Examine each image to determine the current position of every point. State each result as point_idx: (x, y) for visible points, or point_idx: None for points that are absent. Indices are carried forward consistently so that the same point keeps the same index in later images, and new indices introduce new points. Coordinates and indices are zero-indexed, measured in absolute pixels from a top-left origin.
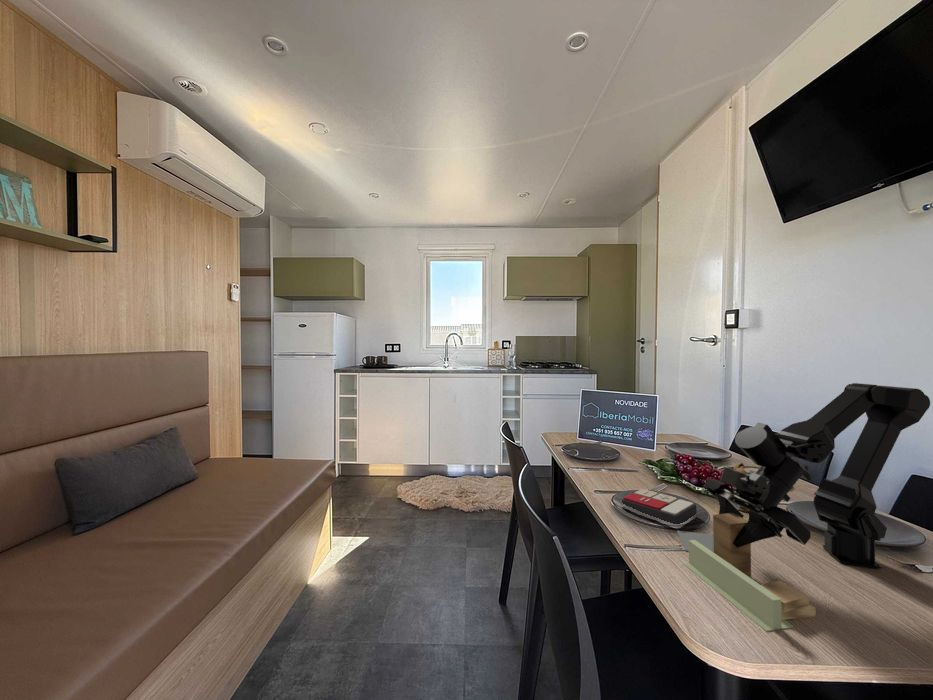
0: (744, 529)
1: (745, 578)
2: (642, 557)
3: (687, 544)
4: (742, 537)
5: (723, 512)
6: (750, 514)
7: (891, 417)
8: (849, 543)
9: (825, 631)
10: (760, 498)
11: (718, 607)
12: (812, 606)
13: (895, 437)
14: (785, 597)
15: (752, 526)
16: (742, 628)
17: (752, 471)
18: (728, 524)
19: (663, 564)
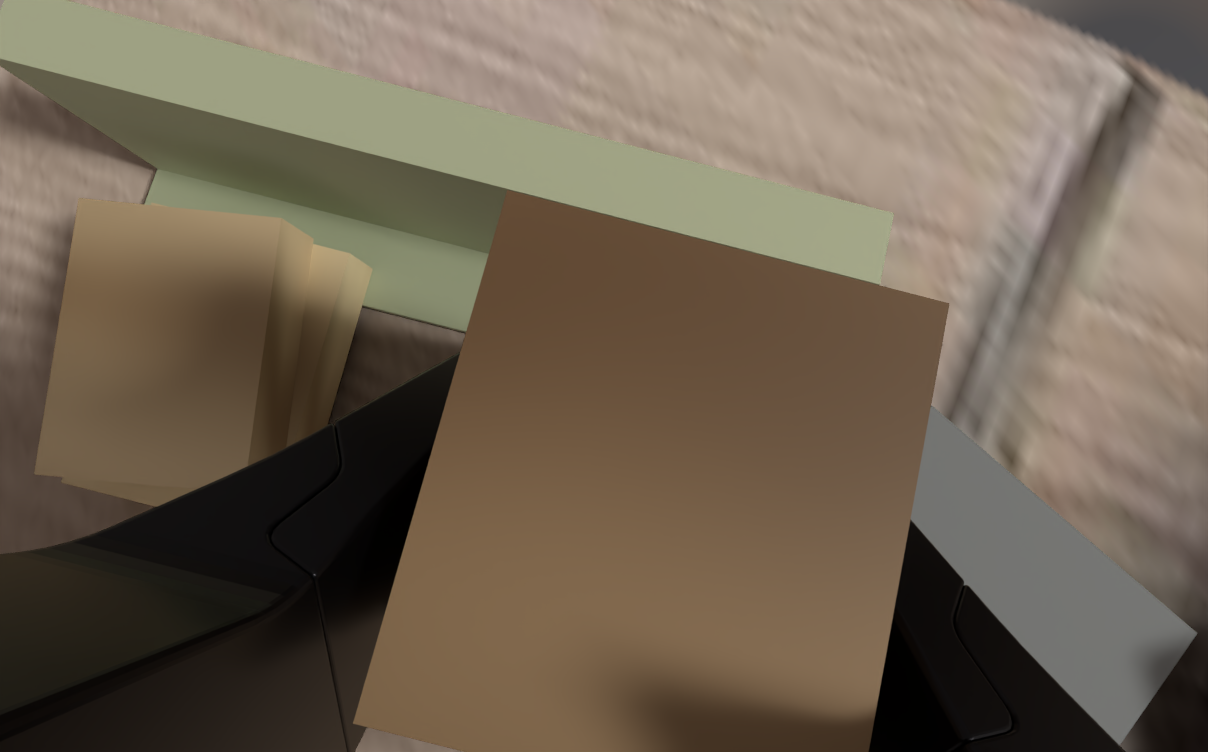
0: (383, 448)
1: (267, 79)
2: (980, 72)
3: (989, 499)
4: (413, 379)
5: (959, 675)
6: (23, 658)
7: None
8: None
9: (34, 386)
10: None
11: (436, 51)
12: (79, 480)
13: None
14: (107, 278)
15: (189, 506)
16: (279, 8)
17: None
18: (542, 202)
19: (866, 129)
